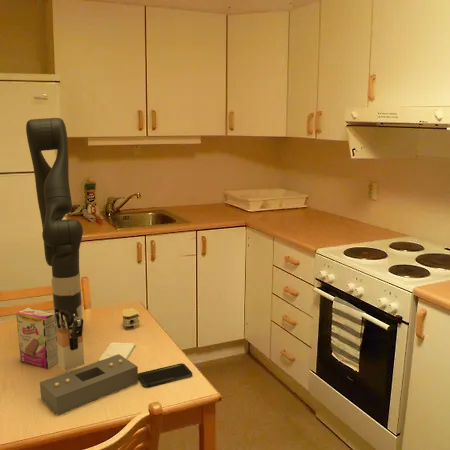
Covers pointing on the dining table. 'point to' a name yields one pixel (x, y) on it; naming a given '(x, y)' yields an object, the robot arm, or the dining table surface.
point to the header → (88, 383)
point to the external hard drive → (118, 350)
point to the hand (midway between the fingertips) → (70, 346)
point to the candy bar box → (37, 337)
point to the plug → (68, 350)
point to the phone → (164, 375)
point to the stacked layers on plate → (130, 317)
